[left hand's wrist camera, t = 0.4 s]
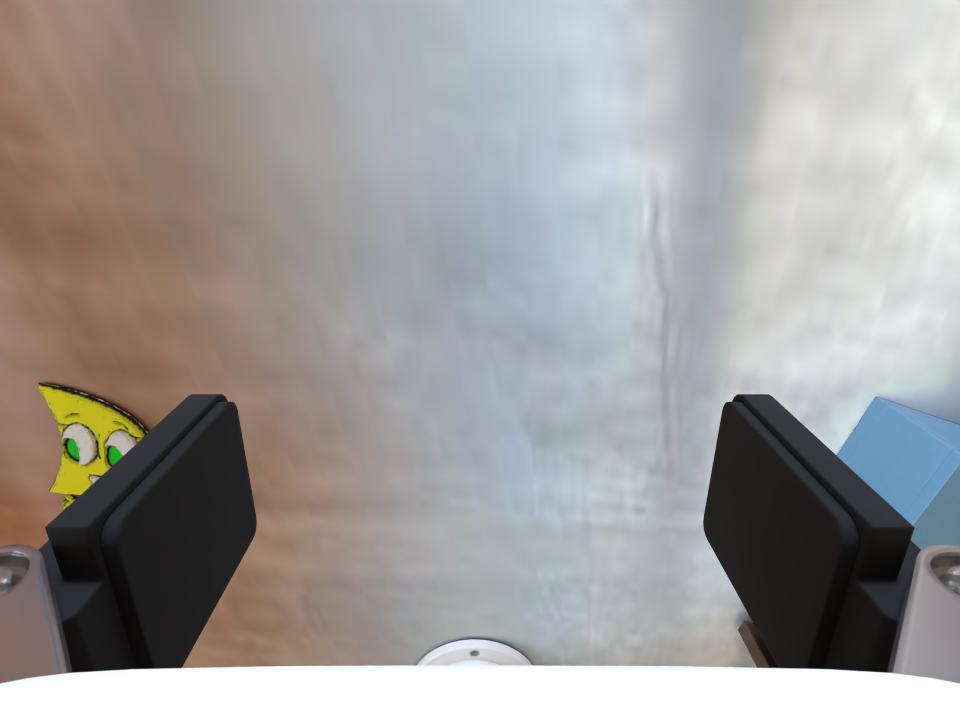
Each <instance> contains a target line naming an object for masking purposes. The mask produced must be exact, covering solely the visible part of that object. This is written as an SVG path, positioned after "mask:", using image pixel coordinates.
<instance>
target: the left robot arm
mask: <svg viewBox="0 0 960 720" xmlns="http://www.w3.org/2000/svg"><path fill="white" fill-rule="evenodd" d="M256 523H257V520H256V513H255V507H254V502H253V496H252V490H251V484H250V479H249V473H248V467H247V462H246V456H245V450H244V444H243V439H242V433H241V427H240V422H239V416H238V410H237V407H236V405H235V403H233V402H228V401H227V399H226V397H225V396H224V395H220V394H191V395H190V396H188V397H187V398H186V399H185V400H184V401H183V402H182V403H180V404H179V405H178V406H177V407H176V408H175V409H174V410H173V411H172V412H171V413H170V414H168V415H167V416H166V417H165V418H164V419H163V420H162V421H161V422H160V423H159V424H158V425H156V426H155V427H154V428H153V429H152V430H151V431H150V432H149V433H148V434H147V435H146V436H144V437H143V438H142V439H141V440H140V441H139V442H138V443H137V444H136V445H135V446H134V447H132V448H131V449H130V450H129V451H128V452H127V453H126V454H125V455H124V456H123V457H122V458H120V459H119V460H118V461H117V462H116V463H115V464H114V465H113V466H112V467H111V468H110V469H108V470H107V471H106V472H105V473H104V474H103V475H102V476H101V477H100V478H99V479H98V480H96V481H95V482H94V483H93V484H92V485H91V486H90V487H89V488H88V489H87V490H86V491H84V492H83V493H82V494H81V495H80V496H79V497H78V498H77V499H76V500H75V501H74V502H72V503H71V504H70V505H69V506H68V507H67V508H66V509H65V510H64V511H63V512H62V513H60V514H59V515H58V516H57V517H56V518H55V519H54V520H53V521H52V522H51V523H50V524H48V525H47V526H46V527H45V529H46V532H47V534H48V537H49V541H48V542H47V543H46V544H45V545H43V546H42V547H41V548H40V549H39V550H38V549H36V548H33V547H31V546H26V545H8V546H1V547H0V720H960V547H959V546H952V545H934V546H929V547H927V548H924V549H922V550H921V549H920V548H919V547H918V546H917V545H915V544H914V543H913V542H912V541H911V537H912V534H913V532H914V529H915V527H914V526H913V525H912V524H910V523H909V522H908V521H907V520H906V519H905V518H904V517H903V516H902V515H901V514H900V513H898V512H897V511H896V510H895V509H894V508H893V507H892V506H891V505H890V504H889V503H888V502H886V501H885V500H884V499H883V498H882V497H881V496H880V495H879V494H878V493H877V492H876V491H874V490H873V489H872V488H871V487H870V486H869V485H868V484H867V483H866V482H865V481H864V480H862V479H861V478H860V477H859V476H858V475H857V474H856V473H855V472H854V471H853V470H852V469H850V468H849V467H848V466H847V465H846V464H845V463H844V462H843V461H842V460H841V459H840V458H838V457H837V456H836V455H835V454H834V453H833V452H832V451H831V450H830V449H829V448H828V447H826V446H825V445H824V444H823V443H822V442H821V441H820V440H819V439H818V438H817V437H816V436H814V435H813V434H812V433H811V432H810V431H809V430H808V429H807V428H806V427H805V426H804V425H802V424H801V423H800V422H799V421H798V420H797V419H796V418H795V417H794V416H793V415H792V414H790V413H789V412H788V411H787V410H786V409H785V408H784V407H783V406H782V405H781V404H780V403H778V402H777V401H776V400H775V399H774V398H773V397H772V396H770V395H769V394H740V395H736V396H735V397H734V399H733V401H732V402H727V403H725V405H724V407H723V410H722V416H721V422H720V427H719V433H718V439H717V444H716V450H715V456H714V462H713V467H712V473H711V479H710V484H709V490H708V496H707V502H706V507H705V513H704V520H703V523H704V532H705V535H706V538H707V540H708V542H709V543H710V545H711V547H712V549H713V551H714V552H715V554H716V556H717V558H718V560H719V561H720V563H721V565H722V567H723V569H724V570H725V572H726V574H727V576H728V578H729V580H730V581H731V583H732V585H733V587H734V589H735V590H736V592H737V594H738V596H739V598H740V599H741V601H742V603H743V605H744V607H745V608H746V610H747V612H748V614H749V616H750V617H751V619H752V621H753V623H754V625H755V626H756V628H757V630H758V632H759V634H760V636H761V637H762V639H763V641H764V643H765V645H766V646H767V648H768V650H769V652H770V654H771V655H772V657H773V659H774V661H775V663H776V664H777V666H778V668H741V667H689V666H533V665H532V664H531V663H530V662H529V660H528V659H527V658H526V657H525V656H523V655H522V654H521V653H520V652H518V651H516V650H514V649H513V648H511V647H509V646H506V645H504V644H501V643H498V642H493V641H488V640H476V639H470V640H460V641H456V642H452V643H448V644H445V645H443V646H441V647H438V648H436V649H435V650H433V651H431V652H430V653H428V654H427V655H426V656H425V657H424V658H423V659H422V660H421V661H420V662H419V663H418V665H417V666H271V667H219V668H182V666H183V664H184V663H185V661H186V659H187V657H188V655H189V654H190V652H191V650H192V648H193V646H194V645H195V643H196V641H197V639H198V637H199V636H200V634H201V632H202V630H203V628H204V626H205V625H206V623H207V621H208V619H209V617H210V616H211V614H212V612H213V610H214V608H215V607H216V605H217V603H218V601H219V599H220V598H221V596H222V594H223V592H224V590H225V589H226V587H227V585H228V583H229V581H230V580H231V578H232V576H233V574H234V572H235V570H236V569H237V567H238V565H239V563H240V561H241V560H242V558H243V556H244V554H245V552H246V551H247V549H248V547H249V545H250V543H251V542H252V540H253V538H254V535H255V532H256Z"/></svg>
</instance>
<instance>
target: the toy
mask: <svg viewBox="0 0 960 720" xmlns="http://www.w3.org/2000/svg"><path fill="white" fill-rule="evenodd" d="M39 384H40V385H39V390H40V391H41V393H42V394H43V396H44V398H45V399H46V402H47V404H48V405H49V407H50V409H51V410H52V413H53V416H54V417H55V419H56V421H58V422H59V425H58V428H59V431H60V435H61V436H62V443H63V446H62V451H63V454H62V461H61V465H60V470H59V472H58V475H57V477H56V479H55V481H54V484H53V485H52V487H51V488H50V490H49V491H50V492H55V493H60V494H66V496H65V498H66V499H65V500H64V501H63V504H62V506H63V505H64V508H63V509H65V508H67V507H68V506H69V505H70V502H71V503H72V502H74V501H75V500H76V499H77V498H78V496H77V495H81V494H82V493H83V492H84V491H86V490H87V489H88V488H89V487H90V486H91V485H92V484H93V483H94V482H95V481H96V480H98V479H99V478H100V477H101V476H102V475H103V474H104V473H105V472H106V471H107V470H108V469H110V468H111V467H112V466H113V464H115V463H116V462H117V461H118V460H119V459H120V458H122V457H123V456H124V455H125V454H126V453H127V452H128V451H129V450H130V449H131V448H132V447H134V446H135V445H136V444H137V443H138V442H139V441H140V440H141V439H142V438H143V437H144V436H146V435H147V434H148V432H147V430H146V429H144V427H143V426H141V424H140V423H139V422H137V420H136V419H135V418H133V417H132V416H130V415H129V414H127V413H126V412H124V411H123V410H121V409H119V408H117V407H116V406H114V405H112V404H110V403H107V402H104V401H103V400H101V399H97V398H95V397H93V396H89V395H88V394H84V393H82V392H77V391H75V390H71V389H67V388H62V387H60V386H55V385H50V384H44V383H39ZM53 392H54V393H53ZM66 396H68V397H66ZM78 400H79V401H78ZM92 404H93V406H92ZM108 411H109V412H108ZM72 413H73V414H72ZM63 415H65V416H64V418H63ZM128 427H129V428H128ZM112 428H113V429H112ZM83 431H84V432H83ZM129 431H130V433H129ZM120 434H121V435H120ZM126 437H127V438H126ZM69 439H70V440H69ZM108 439H109V440H108ZM127 439H128V441H127ZM104 440H105V441H104ZM129 440H130V441H129ZM103 442H104V443H103ZM103 444H104V445H103ZM92 445H93V446H92ZM92 447H94V448H93V450H92ZM109 451H110V452H109ZM92 453H93V457H92ZM74 454H75V456H74ZM78 454H79V455H78ZM75 457H77V458H75ZM109 459H110V460H109ZM103 460H104V462H103ZM69 461H70V462H72V463H70V462H69ZM62 463H63V465H62ZM105 464H106V465H105ZM59 476H60V477H59ZM56 485H57V486H56ZM54 487H55V489H54Z"/></svg>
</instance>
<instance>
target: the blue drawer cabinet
mask: <svg viewBox="0 0 960 720" xmlns="http://www.w3.org/2000/svg"><path fill="white" fill-rule="evenodd" d="M837 457H838V458H840V459H841V460H842V461H843V462H844V463H845V464H846V465H847V466H848V467H849V468H850V469H852V470H853V471H854V472H855V473H856V474H857V475H858V476H859V477H860V478H861V479H862V480H864V481H865V482H866V483H867V484H868V485H869V486H870V487H871V488H872V489H873V490H874V491H876V492H877V493H878V494H879V495H880V496H881V497H882V498H883V499H884V500H885V501H886V502H888V503H889V504H890V505H891V506H892V507H893V508H894V509H895V510H896V511H897V512H898V513H900V514H901V515H902V516H903V517H904V518H905V519H906V520H907V521H908V522H909V523H910V524H912V525H913V526H914V527H915V529H914V532H913V534H912V537H911V541H912V542H913V543H914V544H915V545H917V546H918V547H919V548H920V549H921V550H922V549H924V548H927V547H929V546H934V545H952V546H959V547H960V425H957V424H955V423H952V422H949V421H946V420H943V419H940V418H937V417H934V416H931V415H928V414H925V413H923V412H920V411H917V410H914V409H911V408H908V407H905V406H902V405H899V404H896V403H893V402H891V401H888V400H885V399H882V398H879V397H876V398H875V399H874V401H873V402H872V404H871V405H870V407H869V408H868V410H867V411H866V413H865V414H864V416H863V417H862V419H861V420H860V422H859V423H858V425H857V426H856V428H855V429H854V431H853V432H852V434H851V435H850V437H849V438H848V440H847V441H846V443H845V444H844V446H843V447H842V449H841V450H840V452H839V453H838V455H837Z"/></svg>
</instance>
